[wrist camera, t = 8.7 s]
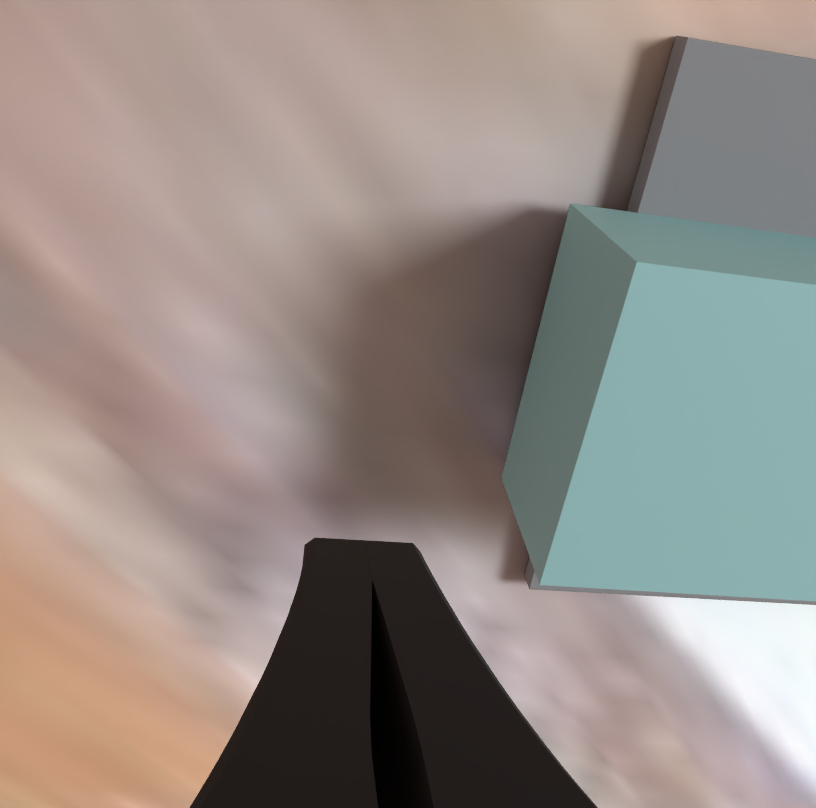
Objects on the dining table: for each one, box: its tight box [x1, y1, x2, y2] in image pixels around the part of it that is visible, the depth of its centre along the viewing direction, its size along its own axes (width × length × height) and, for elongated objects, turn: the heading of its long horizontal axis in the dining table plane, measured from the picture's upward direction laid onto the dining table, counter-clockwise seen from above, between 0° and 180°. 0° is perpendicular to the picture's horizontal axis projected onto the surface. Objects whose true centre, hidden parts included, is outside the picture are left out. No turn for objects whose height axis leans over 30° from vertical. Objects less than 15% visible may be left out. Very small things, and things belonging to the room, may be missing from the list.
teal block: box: [501, 203, 816, 601], centre depth 17 cm, size 4×7×8 cm
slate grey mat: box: [525, 36, 816, 605], centre depth 19 cm, size 11×14×1 cm
